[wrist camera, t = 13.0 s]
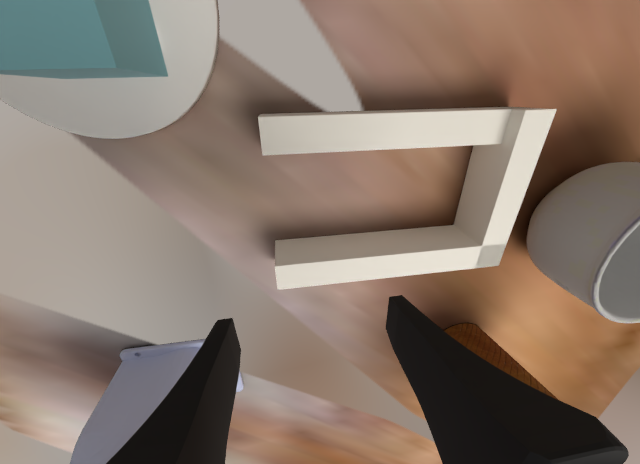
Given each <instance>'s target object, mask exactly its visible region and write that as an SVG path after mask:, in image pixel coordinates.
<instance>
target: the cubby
mask: <svg viewBox="0 0 640 464" xmlns="http://www.w3.org/2000/svg"><path fill="white" fill-rule="evenodd" d="M556 110H557V109H544V108H524V107H483V108H449V109H415V110H380V111H346V112H312V113H278V114H260V115H259V116H258V122H259V130H260V138H261V147H262V155H281V154H302V153H323V152H344V151H365V150H386V149H406V148H427V147H448V146H469V145H473V149H472V153H471V157H470V161H469V165H468V169H467V173H466V177H465V181H464V185H463V189H462V193H461V197H460V201H459V205H458V209H457V213H456V217H455V221H454V225H447V226H435V227H424V228H412V229H401V230H389V231H378V232H366V233H355V234H343V235H332V236H320V237H309V238H297V239H286V240H275V272H276V280H277V288H278V290H281V289H290V288H299V287H308V286H317V285H326V284H336V283H345V282H354V281H363V280H372V279H381V278H391V277H400V276H409V275H418V274H427V273H436V272H445V271H455V270H464V269H473V268H482V267H491V266H498V265H499V263H500V260H501V257H502V255H503V252H504V249H505V247H506V244H507V241H508V239H509V236H510V233H511V231H512V228H513V225H514V223H515V220H516V217H517V215H518V212H519V209H520V207H521V204H522V201H523V198H524V196H525V193H526V190H527V188H528V185H529V182H530V180H531V177H532V174H533V172H534V169H535V166H536V164H537V161H538V158H539V156H540V153H541V150H542V148H543V145H544V142H545V140H546V137H547V134H548V132H549V129H550V126H551V124H552V121H553V118H554V115H555V113H556Z"/></svg>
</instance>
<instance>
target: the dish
mask: <svg viewBox="0 0 640 464" xmlns="http://www.w3.org/2000/svg"><path fill="white" fill-rule="evenodd" d="M149 4H150V8H151V12H152V16H153V19H154V23H155V27H156V31H157V35H158V38H159V42H160V46H161V50H162V54H163V58H164V61H165V65H166V69H167V73H168V77H129V78H86V79H57V78H44V77H30V76H17V75H4V74H0V99H1V100H2V101H3V102H5V103H6V104H8V105H10V106H12V107H13V108H15V109H17V110H19V111H20V112H22V113H24V114H25V115H27V116H30V117H32V118H34V119H36V120H38V121H40V122H42V123H45V124H47V125H50V126H52V127H56V128H58V129H61V130H63V131H67V132H70V133H74V134H78V135H82V136H88V137H95V138H107V139H121V138H130V137H136V136H140V135H144V134H148V133H152V132H155V131H158V130H160V129H162V128H165V127H167V126H169V125H171V124H172V123H174V122H176V121H177V120H179V119H180V118H182V117H183V116H184V115H185V114H186V113H187V112H188V111H190V110H191V108H192V107H193V106H194V105H195V104H196V102H197V101H198V100H199V99H200V97H201V95H202V94H203V92H204V90H205V89H206V87H207V85H208V83H209V80H210V78H211V75H212V73H213V69H214V65H215V62H216V58H217V52H218V44H219V10H218V1H217V0H149Z"/></svg>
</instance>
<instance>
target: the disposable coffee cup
mask: <svg viewBox="0 0 640 464" xmlns="http://www.w3.org/2000/svg"><path fill="white" fill-rule="evenodd" d="M444 331H445V332H446V333H447V334H448V335H450V336H451V337H452V338H454V339H455V340H457V341H458V342H459V343H461V344H462V345H463V346H465V347H466V348H468V349H469V350H471V351H472V352H474V353H475V354H477V355H478V356H480V357H481V358H483V359H484V360H486V361H487V362H489V363H491V364H492V365H494V366H495V367H497V368H499V369H500V370H502V371H504V372H506V373H507V374H509V375H511V376H513V377H514V378H516V379H518V380H520V381H522V382H523V383H525V384H527V385H529V386H531V387H533V388H535V389H537V390H539V391H541V392H543V393H545V394H547V395H549V396H551V397H553V398H555V399H557V398H556V397H555V396H554V395H553V394H552V393H550V392H549V391H548V390H547V389H546V388H545V387H544V386H543V385H542V384H540V382H538V381H537V380H536V379H535V378H534V377H533V376H532V375H531V374H530V373H529V372H527V371H526V370H525V369H524V368H523V367H522V366H521V365H520V364H519V363H518V362H517V361H515V360H514V359H513V358H512V357H511V356H510V355H509V354H508V353H507V352H506V351H504V350H503V349H502V348H501V347H500V346H499V345H498V344H497V343H496V342H495V341H493V339H491V338H490V337H489V336H488V335H487V334H486V333H485V332H483V331H482V330H481V329H480V328H479V327H478V326H477V325H474V324H470V323H464V324H458V325H455V326H452V327H450V328H448V329H446V330H444ZM557 400H558V399H557Z"/></svg>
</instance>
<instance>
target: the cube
mask: <svg viewBox="0 0 640 464" xmlns="http://www.w3.org/2000/svg"><path fill="white" fill-rule="evenodd" d="M0 74H4V75H17V76H30V77H44V78H57V79H86V78H129V77H168V73H167V69H166V65H165V61H164V58H163V54H162V50H161V46H160V42H159V38H158V35H157V31H156V27H155V23H154V19H153V16H152V12H151V8H150V4H149V0H0Z"/></svg>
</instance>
